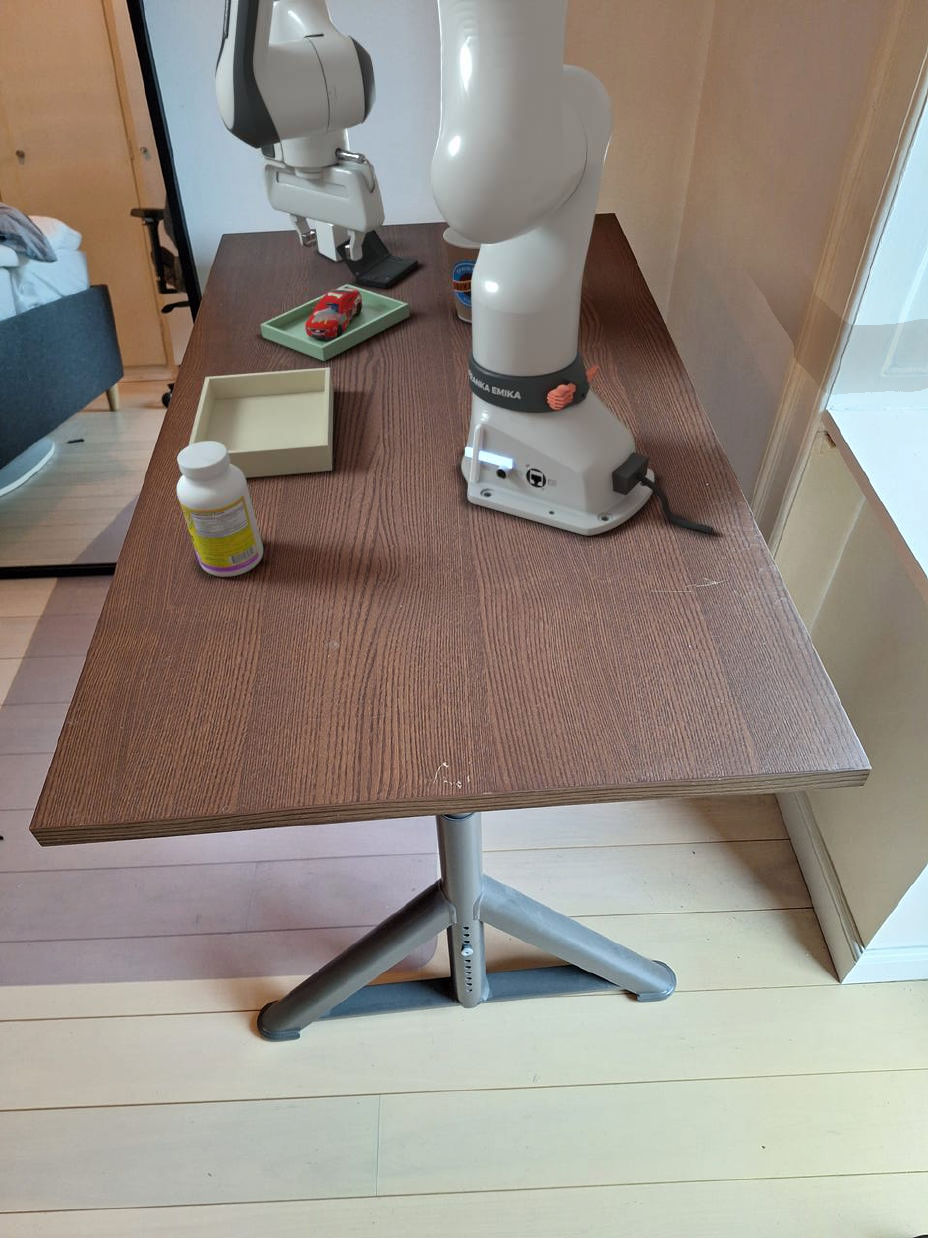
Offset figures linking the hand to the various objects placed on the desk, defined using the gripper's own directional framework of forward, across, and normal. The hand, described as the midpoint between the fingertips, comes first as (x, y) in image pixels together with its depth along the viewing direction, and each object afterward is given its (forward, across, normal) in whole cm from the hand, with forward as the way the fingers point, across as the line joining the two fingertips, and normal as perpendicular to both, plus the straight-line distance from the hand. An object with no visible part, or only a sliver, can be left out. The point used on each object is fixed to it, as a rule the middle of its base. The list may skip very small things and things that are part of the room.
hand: (331, 252), depth 121 cm
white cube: (+11, +22, -21) cm, 33 cm away
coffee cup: (+12, -14, -16) cm, 24 cm away
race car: (+11, +1, +1) cm, 11 cm away
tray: (+11, +1, 0) cm, 11 cm away
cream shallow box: (+11, -15, +27) cm, 33 cm away
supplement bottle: (+12, -31, +46) cm, 57 cm away
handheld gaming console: (+11, +10, -18) cm, 24 cm away
